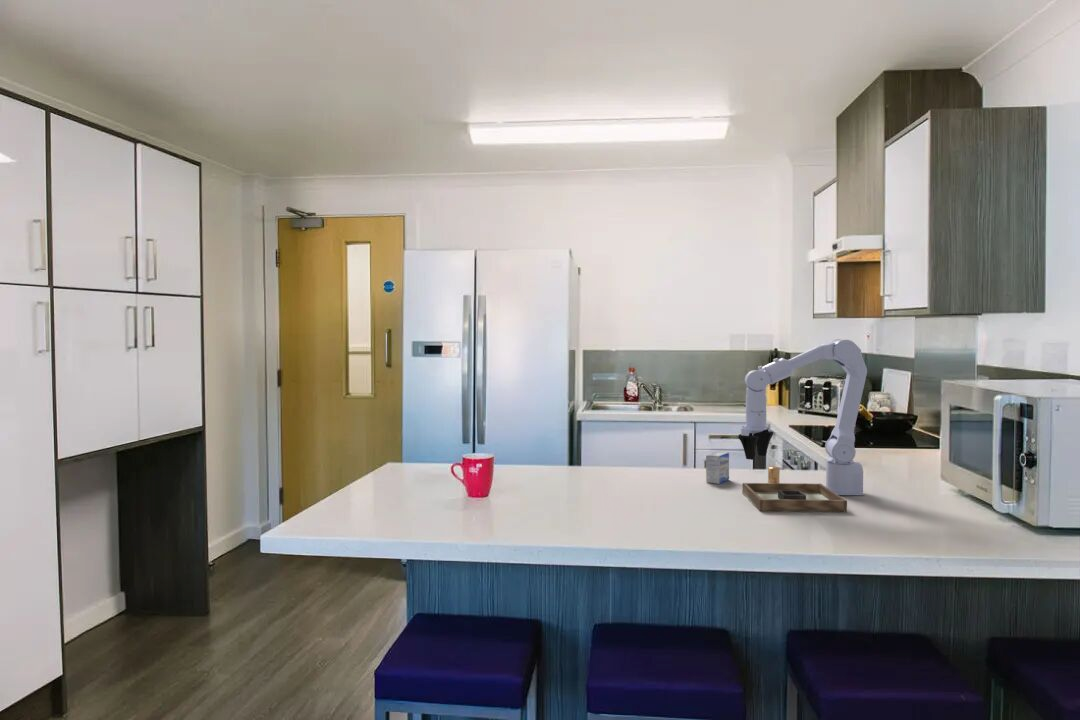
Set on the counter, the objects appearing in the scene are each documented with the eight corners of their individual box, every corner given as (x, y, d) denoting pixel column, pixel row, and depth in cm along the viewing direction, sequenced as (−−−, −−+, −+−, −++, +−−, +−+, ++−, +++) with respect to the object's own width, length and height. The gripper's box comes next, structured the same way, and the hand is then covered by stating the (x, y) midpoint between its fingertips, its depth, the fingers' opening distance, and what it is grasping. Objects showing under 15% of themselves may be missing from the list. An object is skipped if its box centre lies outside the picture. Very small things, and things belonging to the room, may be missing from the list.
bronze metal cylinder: (777, 486, 208) (777, 466, 208) (780, 488, 205) (780, 468, 205) (766, 486, 209) (767, 466, 208) (769, 488, 205) (769, 468, 205)
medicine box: (719, 484, 211) (719, 456, 211) (705, 482, 214) (705, 454, 214) (729, 479, 218) (729, 452, 217) (715, 478, 220) (716, 451, 220)
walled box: (820, 493, 198) (820, 483, 198) (846, 512, 178) (847, 500, 178) (742, 493, 200) (742, 482, 200) (759, 511, 180) (759, 499, 180)
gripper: (754, 408, 211) (754, 452, 211) (731, 412, 200) (731, 459, 201) (776, 409, 206) (776, 455, 207) (754, 414, 196) (754, 462, 196)
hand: (756, 457), depth 203 cm, fingers open, 7 cm apart
